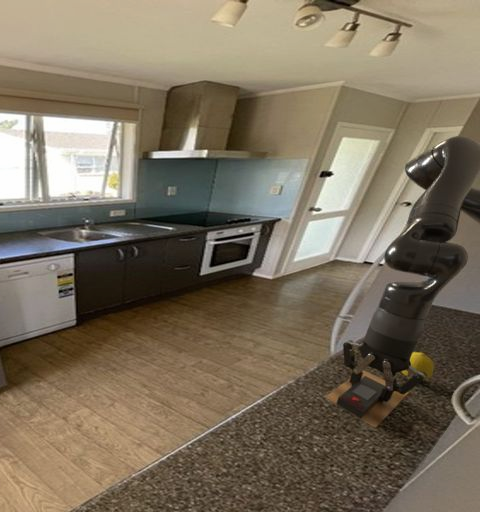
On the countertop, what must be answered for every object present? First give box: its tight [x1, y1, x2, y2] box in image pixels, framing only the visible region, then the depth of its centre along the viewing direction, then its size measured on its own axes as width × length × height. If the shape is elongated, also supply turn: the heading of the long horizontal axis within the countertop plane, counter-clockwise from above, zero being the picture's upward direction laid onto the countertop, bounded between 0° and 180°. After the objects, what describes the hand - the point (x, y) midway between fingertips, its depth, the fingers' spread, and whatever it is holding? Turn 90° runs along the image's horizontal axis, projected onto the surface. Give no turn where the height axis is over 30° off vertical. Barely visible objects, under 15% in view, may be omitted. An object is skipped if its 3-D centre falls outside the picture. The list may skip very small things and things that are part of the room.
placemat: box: [324, 369, 410, 429], centre depth 67 cm, size 20×9×1 cm, turn 119°
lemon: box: [401, 351, 435, 381], centre depth 71 cm, size 6×6×8 cm
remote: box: [335, 376, 385, 419], centre depth 65 cm, size 14×4×2 cm, turn 119°
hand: (368, 392), depth 67 cm, fingers closed on remote, 4 cm apart
